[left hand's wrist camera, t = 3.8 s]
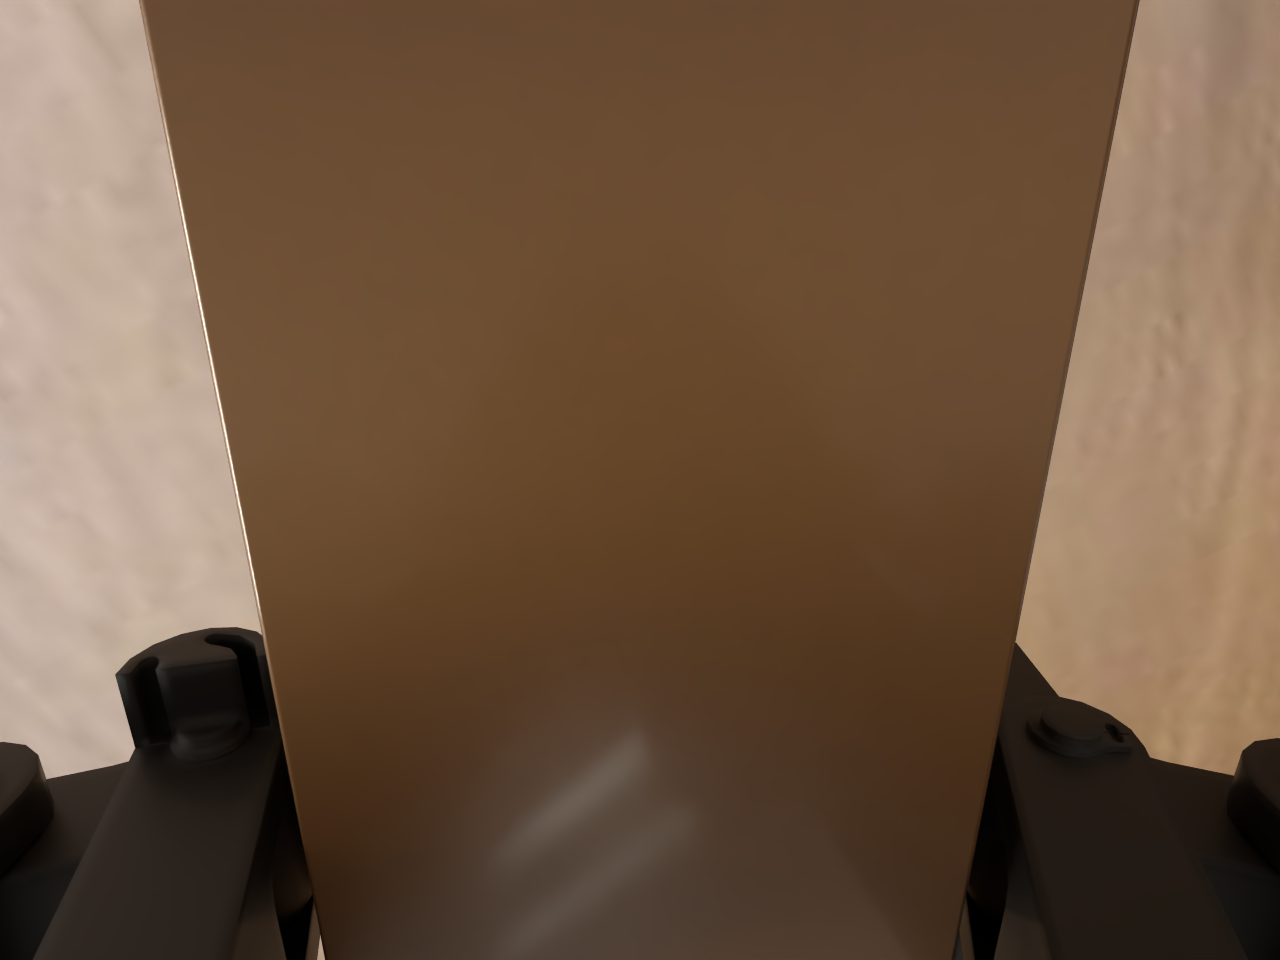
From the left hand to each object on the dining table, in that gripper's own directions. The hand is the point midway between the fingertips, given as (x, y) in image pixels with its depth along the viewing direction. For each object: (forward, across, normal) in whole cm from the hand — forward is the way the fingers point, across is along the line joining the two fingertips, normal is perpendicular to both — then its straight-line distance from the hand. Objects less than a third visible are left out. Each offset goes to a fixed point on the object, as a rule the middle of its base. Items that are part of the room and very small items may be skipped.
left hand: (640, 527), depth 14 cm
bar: (+1, 0, -9) cm, 9 cm away
